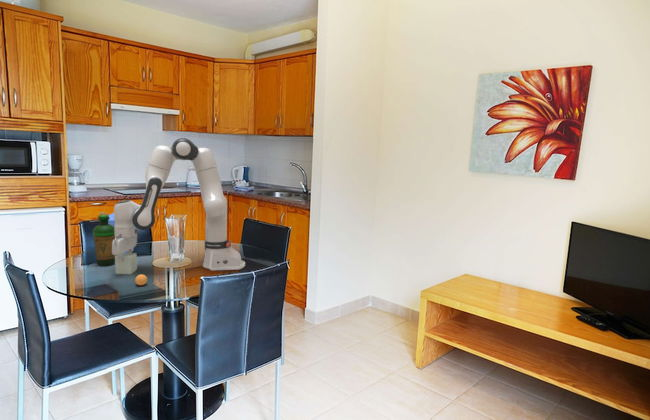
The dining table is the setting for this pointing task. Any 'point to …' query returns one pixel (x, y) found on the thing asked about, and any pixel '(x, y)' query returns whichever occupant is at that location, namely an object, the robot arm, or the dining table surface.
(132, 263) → the beige rounded cube
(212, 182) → the robot arm
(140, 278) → the ball
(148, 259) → the dining table surface
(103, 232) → the bottle
